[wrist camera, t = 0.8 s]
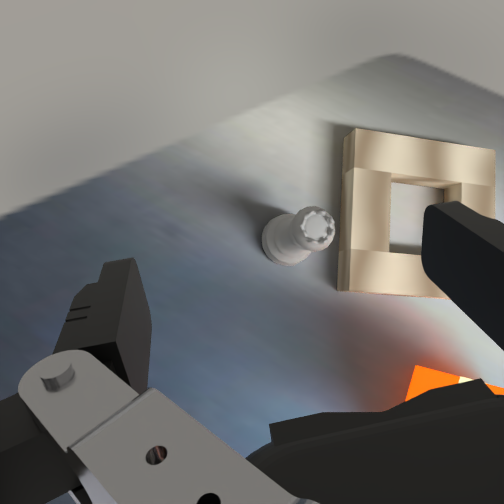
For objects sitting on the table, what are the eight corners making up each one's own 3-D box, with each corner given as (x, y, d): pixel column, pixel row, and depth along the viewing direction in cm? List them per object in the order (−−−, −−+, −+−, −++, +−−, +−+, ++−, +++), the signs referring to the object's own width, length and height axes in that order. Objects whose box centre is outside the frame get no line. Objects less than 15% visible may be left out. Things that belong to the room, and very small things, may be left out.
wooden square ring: (337, 290, 39) (349, 290, 36) (343, 138, 40) (355, 128, 38) (474, 301, 41) (494, 301, 39) (476, 158, 43) (495, 150, 41)
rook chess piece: (254, 222, 38) (279, 203, 30) (301, 210, 39) (338, 188, 31) (268, 272, 37) (297, 266, 30) (315, 259, 38) (356, 249, 31)
